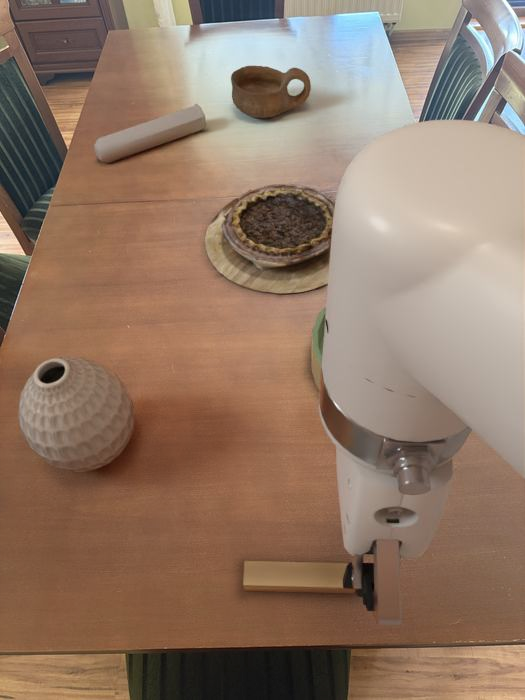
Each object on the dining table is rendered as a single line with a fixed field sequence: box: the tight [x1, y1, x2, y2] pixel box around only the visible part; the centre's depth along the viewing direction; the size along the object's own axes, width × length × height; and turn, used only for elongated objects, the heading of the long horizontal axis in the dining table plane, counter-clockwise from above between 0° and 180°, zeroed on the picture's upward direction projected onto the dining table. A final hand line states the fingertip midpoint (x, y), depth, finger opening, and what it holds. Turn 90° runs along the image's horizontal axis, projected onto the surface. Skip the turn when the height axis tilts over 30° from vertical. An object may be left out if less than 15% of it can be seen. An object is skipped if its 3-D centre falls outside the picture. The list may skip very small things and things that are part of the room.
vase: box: [18, 356, 135, 473], centre depth 61 cm, size 13×13×17 cm
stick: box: [242, 560, 357, 594], centre depth 56 cm, size 2×12×2 cm, turn 88°
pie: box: [204, 183, 335, 294], centre depth 90 cm, size 28×27×5 cm
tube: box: [93, 103, 207, 164], centre depth 111 cm, size 5×5×25 cm
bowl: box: [230, 65, 312, 119], centre depth 116 cm, size 18×14×10 cm
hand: (359, 515), depth 38 cm, fingers open, 9 cm apart
